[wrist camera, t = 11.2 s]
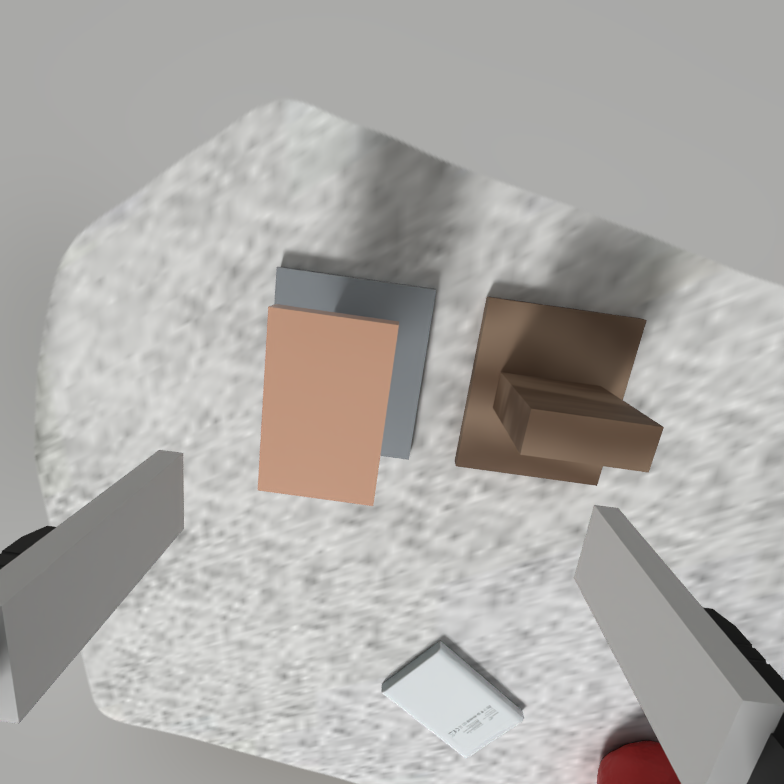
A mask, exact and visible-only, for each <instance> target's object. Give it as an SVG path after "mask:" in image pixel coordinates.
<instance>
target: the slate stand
mask: <svg viewBox="0 0 784 784" xmlns="http://www.w3.org/2000/svg"><path fill="white" fill-rule="evenodd" d="M435 295H436V289H431V288H424V287H417V286H410V285H403V284H396V283H389V282H382V281H375V280H368V279H361V278H354V277H347V276H340V275H333V274H326V273H319V272H312V271H305V270H298V269H291V268H285V267H277V272H276V289H275V304H280V305H287V306H294V307H301V308H308V309H315V310H322V311H329V312H336V313H343V314H350V315H357V316H364V317H371V318H378V319H385V320H392V321H399V328H398V335H397V342H396V349H395V356H394V363H393V370H392V377H391V384H390V391H389V398H388V405H387V412H386V419H385V426H384V433H383V440H382V447H381V454H380V456H386V457H393V458H401V459H408V460H409V455H410V449H411V443H412V436H413V430H414V424H415V418H416V412H417V406H418V400H419V393H420V387H421V381H422V375H423V369H424V363H425V357H426V350H427V344H428V338H429V332H430V326H431V320H432V314H433V307H434V301H435Z"/></svg>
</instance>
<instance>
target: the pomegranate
mask: <svg viewBox="0 0 784 784" xmlns="http://www.w3.org/2000/svg"><path fill="white" fill-rule="evenodd" d="M597 784H681V782H680V780H679V778H678V777H677V775H676V773H675V771H674V769H673V767H672V765H671V763H670V761H669V759H668V757H667V755H666V754H665V752H664V750H663V748H662V746H661V744H660V743H658V742H654V741H642V742H635V743H630V744H627V745H624V746H622V747H620V748H618V749H617V750H615V751H612V752H610V753H609V754H608V755H606V756H605V757H604V758H603V760H602V761H601V763H600V766H599V768H598V775H597Z"/></svg>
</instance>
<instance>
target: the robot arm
mask: <svg viewBox="0 0 784 784" xmlns="http://www.w3.org/2000/svg"><path fill="white" fill-rule="evenodd" d="M183 529H184V491H183V453H179V452H171V451H163V450H159V451H157V452H156V453H155V454H153V455H152V456H151V457H149V458H148V459H147V460H145V461H144V462H143V463H141V464H140V465H139V466H137V467H136V468H135V469H133V470H132V471H131V472H129V473H128V474H127V475H125V476H124V477H123V478H121V479H120V480H119V481H117V482H116V483H115V484H113V485H112V486H111V487H109V488H108V489H107V490H105V491H104V492H103V493H101V494H100V495H99V496H97V497H96V498H95V499H93V500H92V501H91V502H89V503H88V504H87V505H85V506H84V507H83V508H81V509H80V510H79V511H77V512H76V513H75V514H73V515H72V516H71V517H69V518H68V519H67V520H65V521H64V522H63V523H61V524H60V525H59V526H57V527H52V526H46V527H44V528H41V529H39V530H36V531H35V532H32V533H30V534H28V535H25V536H23V537H21V538H20V539H18V540H17V541H15V542H14V543H13V544H11V545H10V546H8V547H7V548H5V549H4V550H3V551H2V553H1V554H0V721H3V722H11V723H18V724H19V723H20V722H21V720H22V719H23V718H24V717H25V716H26V715H27V714H28V712H29V711H30V710H31V709H32V708H33V707H34V705H35V704H36V703H37V702H38V701H39V699H40V698H41V697H42V696H43V694H45V692H46V691H47V690H48V689H49V688H50V686H51V685H52V684H53V683H54V682H55V680H56V679H57V678H58V677H59V676H60V674H61V673H62V672H63V671H64V670H65V669H66V667H67V666H68V665H69V664H70V663H71V661H72V660H73V659H74V658H75V657H76V656H77V654H78V653H79V652H80V651H81V650H82V649H83V647H84V646H85V645H86V644H87V643H88V641H89V640H90V639H91V638H92V637H93V636H94V634H95V633H96V632H97V631H98V630H99V628H100V627H101V626H102V625H103V624H104V623H105V621H106V620H107V619H108V618H109V617H110V615H111V614H112V613H113V612H114V611H115V609H116V608H117V607H118V606H119V605H120V604H121V602H122V601H123V600H124V599H125V598H126V596H127V595H128V594H129V593H130V592H131V591H132V589H133V588H134V587H135V586H136V585H137V583H138V582H139V581H140V580H141V579H142V578H143V576H144V575H145V574H146V573H147V572H148V570H149V569H150V568H151V567H152V566H153V565H154V563H155V562H156V561H157V560H158V559H159V557H160V556H161V555H162V554H163V553H164V551H165V550H166V549H167V548H168V547H169V546H170V544H171V543H172V542H173V541H174V540H175V538H176V537H177V536H178V535H179V534H180V533H181V531H182V530H183ZM574 579H575V581H576V583H577V585H578V587H579V589H580V591H581V593H582V594H583V596H584V598H585V600H586V602H587V604H588V606H589V608H590V610H591V612H592V614H593V616H594V617H595V619H596V621H597V623H598V625H599V627H600V629H601V631H602V633H603V635H604V637H605V639H606V640H607V642H608V644H609V646H610V648H611V650H612V652H613V654H614V656H615V658H616V660H617V662H618V663H619V665H620V667H621V669H622V671H623V673H624V675H625V677H626V679H627V681H628V683H629V685H630V686H631V688H632V690H633V692H634V694H635V696H636V698H637V700H638V702H639V704H640V706H641V708H642V709H643V711H644V713H645V715H646V717H647V719H648V721H649V723H650V725H651V727H652V729H653V731H654V732H655V734H656V736H657V738H658V740H659V742H660V744H661V746H662V748H663V750H664V752H665V754H666V755H667V757H668V759H669V761H670V763H671V765H672V767H673V769H674V771H675V773H676V775H677V777H678V778H679V780H680V782H681V784H784V680H783V679H782V678H781V677H780V675H779V674H778V673H777V672H776V671H775V670H774V669H773V668H772V666H771V665H770V664H766V660H765V659H764V658H763V656H762V655H761V654H760V653H759V652H758V651H757V650H756V649H755V648H752V644H751V643H750V642H749V641H748V640H747V639H746V637H745V636H744V635H743V634H742V633H741V632H740V631H739V630H738V629H737V627H736V626H735V625H733V624H732V623H731V622H729V621H728V620H727V619H725V618H724V617H723V616H721V615H720V614H719V613H717V612H716V611H715V610H713V609H710V608H703V607H702V606H701V605H700V604H699V603H698V601H697V600H696V599H695V598H694V597H693V596H692V594H691V593H690V592H689V591H688V590H687V588H686V587H685V586H684V585H683V584H682V583H681V581H680V580H679V579H678V578H677V577H676V576H675V574H674V573H673V572H672V571H671V570H670V568H669V567H668V566H667V565H666V564H665V563H664V561H663V560H662V559H661V558H660V557H659V556H658V554H657V553H656V552H655V551H654V550H653V548H652V547H651V546H650V545H649V544H648V543H647V541H646V540H645V539H644V538H643V537H642V536H641V534H640V533H639V532H638V531H637V530H636V528H635V527H634V526H633V525H632V524H631V523H630V521H629V520H628V519H627V518H626V517H625V516H624V514H623V513H622V512H621V511H620V510H619V508H614V507H606V506H598V505H594V507H593V511H592V514H591V518H590V522H589V525H588V529H587V533H586V536H585V540H584V543H583V547H582V551H581V554H580V558H579V561H578V565H577V569H576V572H575V576H574Z"/></svg>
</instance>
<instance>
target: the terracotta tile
mask: <svg viewBox="0 0 784 784" xmlns="http://www.w3.org/2000/svg"><path fill="white" fill-rule="evenodd" d="M398 328H399V321H392V320H385V319H378V318H371V317H364V316H357V315H350V314H343V313H336V312H329V311H322V310H315V309H308V308H301V307H294V306H287V305H280V304H275V305H272V306H269V307H268V323H267V340H266V357H265V374H264V391H263V408H262V426H261V443H260V460H259V477H258V490H260V491H267V492H274V493H282V494H289V495H296V496H304V497H311V498H318V499H326V500H333V501H340V502H348V503H355V504H362V505H370V506H373V503H374V496H375V489H376V482H377V475H378V468H379V461H380V454H381V447H382V440H383V433H384V426H385V419H386V412H387V405H388V398H389V391H390V384H391V377H392V370H393V363H394V356H395V349H396V342H397V335H398Z"/></svg>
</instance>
